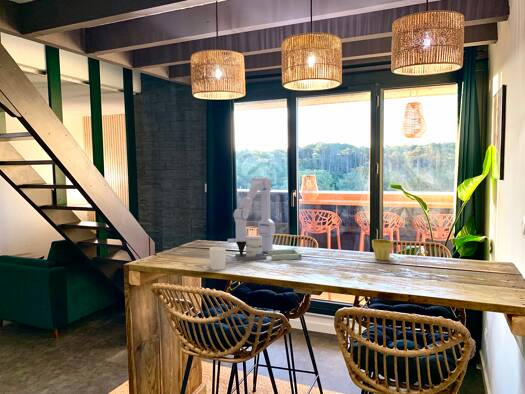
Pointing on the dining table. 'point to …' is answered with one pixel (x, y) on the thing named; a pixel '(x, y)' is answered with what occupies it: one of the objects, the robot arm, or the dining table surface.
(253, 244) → the ink box
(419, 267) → the dining table surface
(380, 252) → the plant pot
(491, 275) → the dining table surface
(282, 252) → the tray
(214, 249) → the white cup
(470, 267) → the dining table surface
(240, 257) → the printer bay
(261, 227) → the robot arm
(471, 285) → the dining table surface
